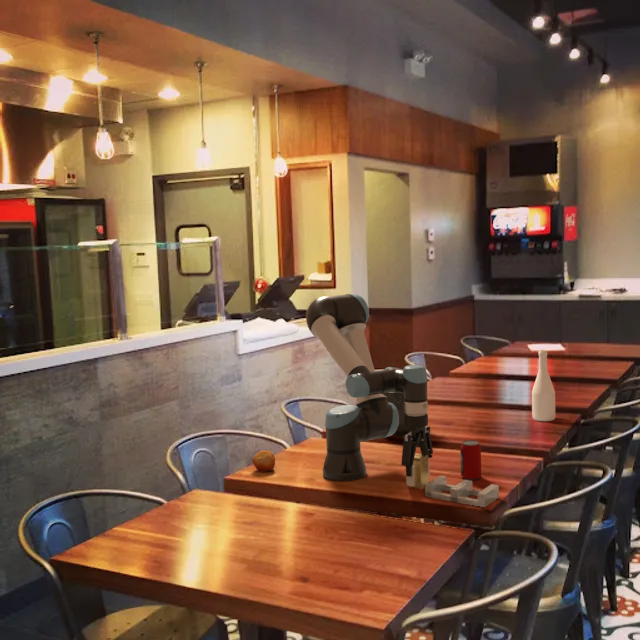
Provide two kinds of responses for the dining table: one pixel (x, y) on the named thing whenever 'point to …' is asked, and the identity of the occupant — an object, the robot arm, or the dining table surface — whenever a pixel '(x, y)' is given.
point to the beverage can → (470, 459)
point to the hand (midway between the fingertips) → (418, 481)
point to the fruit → (264, 461)
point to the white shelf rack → (461, 492)
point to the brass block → (421, 470)
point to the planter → (398, 401)
